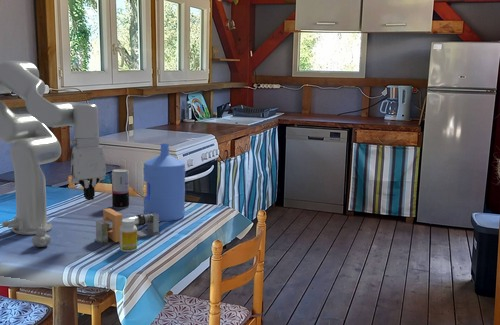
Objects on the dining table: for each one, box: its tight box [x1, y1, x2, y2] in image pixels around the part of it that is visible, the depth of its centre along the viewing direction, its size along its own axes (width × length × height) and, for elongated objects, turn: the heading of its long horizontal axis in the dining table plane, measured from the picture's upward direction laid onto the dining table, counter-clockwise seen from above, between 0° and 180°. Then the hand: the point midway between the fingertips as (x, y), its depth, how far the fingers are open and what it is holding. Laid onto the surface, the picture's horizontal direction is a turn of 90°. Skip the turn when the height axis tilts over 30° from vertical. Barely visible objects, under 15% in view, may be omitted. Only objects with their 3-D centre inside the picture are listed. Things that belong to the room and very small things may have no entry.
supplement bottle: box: [119, 217, 138, 253], centre depth 164 cm, size 5×5×10 cm
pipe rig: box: [94, 212, 161, 246], centre depth 176 cm, size 21×6×7 cm, turn 129°
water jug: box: [143, 143, 186, 222], centre depth 199 cm, size 16×16×28 cm
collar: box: [102, 207, 123, 243], centre depth 172 cm, size 2×9×9 cm, turn 39°
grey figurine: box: [31, 222, 52, 248], centre depth 164 cm, size 5×7×8 cm
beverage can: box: [111, 168, 130, 210], centre depth 212 cm, size 7×6×15 cm
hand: (89, 199), depth 170 cm, fingers closed
